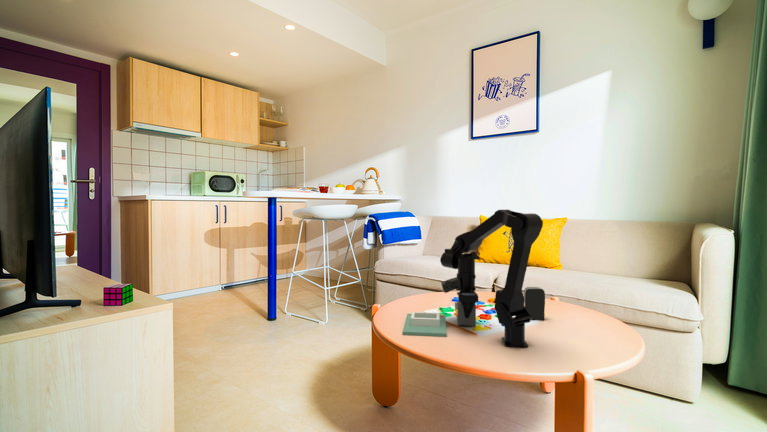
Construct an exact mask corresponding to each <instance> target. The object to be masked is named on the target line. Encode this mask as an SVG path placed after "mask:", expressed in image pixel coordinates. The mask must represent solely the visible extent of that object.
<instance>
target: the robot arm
mask: <svg viewBox="0 0 767 432" xmlns="http://www.w3.org/2000/svg"><path fill="white" fill-rule="evenodd" d="M543 224H544V221H543V220H542V218H541V216H540V215H539V214H537V213H533V212H532V213H523V212H517V211H513V210H511V209H498V210H496V211H494V214H492V215H490V217H489V216H488V218H487V219H485V220H484V221H483V222H482V223H480V224H479V225H477V226H476V227H475V228H473V229H472V230H469V231H466V232H463V233H461V234H459V235H457V236H456V237H455V239H454V242H453V244H452V246H451V247H450V248H444V252H443V253H442V254H441V257H440V261H439V262H440V263H441V266H442V267H443V268H448V269H453V270H457V273H456V277H455V276H454V277H453V278H449V279H446V280H443V281H442V282H440V284H441V287H442V291H443V292H444V294H447V293H449V292H451V291H454V290H455V291H456V295H457V300H458V302H461V303H462V304H463V309H464V314H465V318H469V316H470V314H471V311H472V309H473V307H474V305H475V304H476V303H479V294H478V293H477V292H476V275H477V274H476V260H480V259H481V257H480V256H479V255H478V254H477V253H476V250H478V248H480V246H481V245H482V243H483V241H484V240H485V239H486V238H488V237H489V236H490V235H492V234H493V233H495V232H496V231H497V230H499V229H500V228H502V227H503V226H505V227H507V228H509V229H510V234H511V237H512V240H513V246H512V250H511V253H510V254H511V255H510V259H509V264H508V269H507V275H506V277H505V278H506V279H505V284H504V287H503V289H498V290H496V292H495V295H494V296H495V298H494V301H493V304H494V310H495V313H496V316H497V319H498V323H499V324H501V325H502V326H503V327H504V336H501V341H502V342H503V345H504V346H505V347H511V348H512V347H513V348H529V344H528V343H527V342H526V339H525V338H526V337H525V336H526V335H525V334H526V333H525V332H526V329H525V327H526V324H528V323H531V321H532V319H531V318H532V316H531V315H530V313H529V312H528V310H527V309H526V308H525V304H524V292H523V287H524V282H525V278H526V277H525V276H526V272H527V267H528V263H529V259H530V255H531V249H532V246H533V244H534V243H535V241H536V240H537V239H538V238H539V236H540V234H541V232H542V229H543V226H544V225H543Z"/></svg>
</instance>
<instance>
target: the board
mask: <svg viewBox="0 0 767 432" xmlns="http://www.w3.org/2000/svg"><path fill="white" fill-rule="evenodd" d="M446 318H447V317H446V314H442V313H440V312H428V311H427V312H423V311H412V312H411V313H407V314H406V317H405V321H404V325H403V329H402V335H403V336H421V337H423V336H424V337H442V338H443V337H444V338H447V337H448V336H447V335H448V334H447V333H448V332H447V321H446V320H447V319H446Z"/></svg>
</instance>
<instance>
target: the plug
mask: <svg viewBox="0 0 767 432" xmlns="http://www.w3.org/2000/svg"><path fill="white" fill-rule="evenodd" d="M454 310H456V322H457V326H471V327H472V326H473V327H474V326H475V327H476V326H477V323H476V322H477V316H476V315H477V312H476V311H477V304H476V303H475V305H474V307H473V309H472V311H471V314H470V316H469V318H465V314H464V309H463V304H462V303H461V302H459V301H455V302H454Z"/></svg>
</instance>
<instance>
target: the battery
mask: <svg viewBox="0 0 767 432" xmlns="http://www.w3.org/2000/svg"><path fill="white" fill-rule="evenodd" d="M523 296H524V306H525V308H526V309H527V310H528V312H529V313H530V315H531V316H532V318H531V320H537V321H539V320H540V321H543V320H545V310H546V308H545V307H546V292H545V290H544V288H541V287H539V286H536V287H535V286H527V287H525V288H524V290H523Z"/></svg>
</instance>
